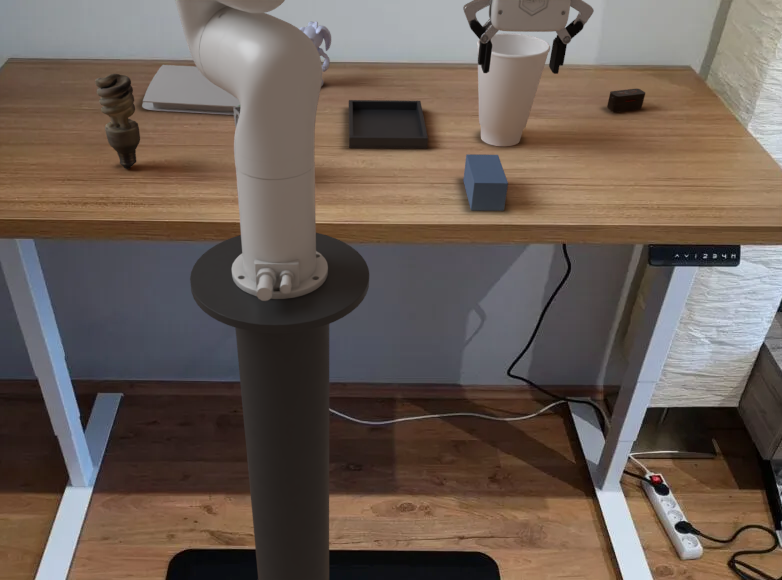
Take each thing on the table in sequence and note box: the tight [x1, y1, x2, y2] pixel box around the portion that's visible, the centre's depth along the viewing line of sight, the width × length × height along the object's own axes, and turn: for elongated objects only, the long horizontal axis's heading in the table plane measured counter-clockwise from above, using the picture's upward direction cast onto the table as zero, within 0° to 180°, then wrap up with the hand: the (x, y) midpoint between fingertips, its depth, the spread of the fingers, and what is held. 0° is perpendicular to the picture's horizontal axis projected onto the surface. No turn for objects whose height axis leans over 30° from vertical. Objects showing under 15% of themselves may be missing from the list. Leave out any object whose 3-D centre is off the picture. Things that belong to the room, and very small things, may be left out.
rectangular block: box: [462, 153, 509, 212], centre depth 123 cm, size 10×5×4 cm, turn 0°
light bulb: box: [94, 73, 141, 170], centre depth 127 cm, size 6×6×15 cm
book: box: [141, 64, 240, 116], centre depth 154 cm, size 15×23×4 cm, turn 82°
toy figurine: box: [298, 20, 332, 87], centre depth 158 cm, size 7×6×12 cm
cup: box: [476, 33, 551, 147], centre depth 136 cm, size 12×12×16 cm
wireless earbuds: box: [606, 88, 646, 114], centre depth 152 cm, size 5×7×3 cm, turn 107°
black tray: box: [348, 99, 429, 150], centre depth 144 cm, size 17×13×2 cm
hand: (519, 70), depth 113 cm, fingers open, 9 cm apart
